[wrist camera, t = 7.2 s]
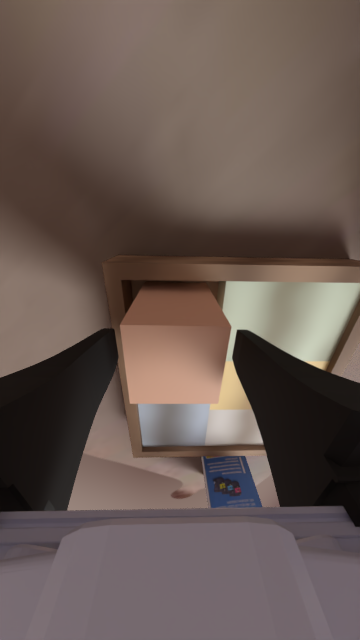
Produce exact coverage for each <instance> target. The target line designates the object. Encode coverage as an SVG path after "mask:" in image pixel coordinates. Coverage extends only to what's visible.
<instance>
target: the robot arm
mask: <svg viewBox="0 0 360 640" xmlns="http://www.w3.org/2000/svg"><path fill="white" fill-rule="evenodd" d="M118 358H119V355H118V349H117V343H116V336H115V330H114V329H107V328H104V329H101V330H99V331H98V332H96V333H94V334H92V335H91V336H89V337H87V338H86V339H84V340H82V341H80V342H79V343H77V344H75V345H73V346H72V347H70V348H68V349H66V350H64V351H62V352H60V353H59V354H57V355H55V356H53V357H51V358H49V359H46V360H44V361H42V362H40V363H37V364H35V365H33V366H30V367H28V368H25V369H23V370H20V371H17V372H15V373H12V374H9V375H7V376H4V377H1V378H0V640H360V383H357V382H354V381H351V380H349V379H346V378H343V377H340V376H338V375H335V374H332V373H330V372H327V371H325V370H322V369H320V368H318V367H315V366H313V365H311V364H309V363H307V362H304V361H302V360H300V359H298V358H296V357H294V356H292V355H290V354H289V353H287V352H285V351H283V350H281V349H280V348H278V347H276V346H274V345H273V344H271V343H269V342H268V341H266V340H265V339H263V338H261V337H260V336H258V335H256V334H255V333H253V332H251V331H249V330H237V332H236V338H235V343H234V349H233V354H232V360H233V363H234V367H235V370H236V373H237V376H238V378H239V380H240V383H241V385H242V387H243V389H244V392H245V394H246V396H247V398H248V401H249V403H250V405H251V408H252V410H253V413H254V415H255V419H256V422H257V425H258V428H259V431H260V434H261V437H262V441H263V444H264V447H265V451H266V454H267V458H268V462H269V465H270V469H271V472H272V476H273V480H274V484H275V488H276V492H277V496H278V500H279V504H280V507H251V508H195V509H194V508H192V509H138V510H135V509H134V510H80V511H79V510H76V511H67V508H68V504H69V500H70V497H71V493H72V489H73V485H74V482H75V478H76V474H77V471H78V468H79V464H80V461H81V457H82V454H83V451H84V448H85V444H86V441H87V438H88V435H89V432H90V429H91V426H92V423H93V420H94V417H95V414H96V412H97V410H98V407H99V405H100V403H101V400H102V398H103V396H104V394H105V392H106V390H107V387H108V385H109V383H110V381H111V379H112V376H113V374H114V372H115V369H116V365H117V362H118Z"/></svg>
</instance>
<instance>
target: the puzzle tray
mask: <svg viewBox="0 0 360 640" xmlns="http://www.w3.org/2000/svg"><path fill="white" fill-rule="evenodd" d="M102 269H103V275H104V281H105V287H106V293H107V299H108V306H109V312H110V318H111V324H112V329H114V330H115V336H116V343H117V349H118V355H119V358H118V367H119V373H120V379H121V385H122V391H123V397H124V404H125V410H126V416H127V422H128V428H129V434H130V440H131V446H132V453H133V458H138V457H203V456H267V454H266V451H265V447H264V444H263V441H262V437H261V434H260V431H259V428H258V425H257V422H256V419H255V415H254V413H253V410H252V408H251V405H250V403H249V401H248V398H247V396H246V394H245V392H244V389H243V387H242V385H241V383H240V380H239V378H238V376H237V373H236V370H235V367H234V363H233V360H232V354H233V349H234V343H235V338H236V332H237V330H249V331H251V332H253V333H255V334H256V335H258V336H260V337H261V338H263V339H265V340H266V341H268V342H269V343H271V344H273V345H274V346H276V347H278V348H280V349H281V350H283V351H285V352H287V353H289V354H290V355H292V356H294V357H296V358H298V359H300V360H302V361H304V362H307V363H309V364H311V365H313V366H315V367H318V368H320V369H322V370H325V371H327V372H330V373H332V374H335V375H338V376H340V377H341V376H342V374H343V372H344V370H345V369H346V367H347V365H348V363H349V361H350V359H351V357H352V355H353V354H354V352H355V350H356V348H357V346H358V344H359V342H360V261H358V260H352V259H313V258H254V257H196V256H138V255H117V256H115V257H113V258H111V259H108V260H106V261H104V262H102ZM145 282H184V283H206V284H207V285H208V287H209V289H210V291H211V292H212V294H213V296H214V297H215V299H216V301H217V303H218V304H219V306H220V308H221V309H222V311H223V313H224V314H225V316H226V318H227V320H228V321H229V323H230V325H231V326H232V328H231V333H230V339H229V345H228V350H227V356H226V362H225V368H224V373H223V379H222V385H221V390H220V396H219V402H218V404H130V400H129V393H128V385H127V377H126V369H125V362H124V354H123V346H122V338H121V330H120V324H121V322H122V320H123V319H124V317H125V315H126V313H127V312H128V310H129V308H130V307H131V305H132V303H133V301H134V300H135V298H136V296H137V295H138V293H139V291H140V289H141V288H142V286H143V284H144V283H145Z"/></svg>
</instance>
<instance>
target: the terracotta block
mask: <svg viewBox="0 0 360 640" xmlns="http://www.w3.org/2000/svg"><path fill="white" fill-rule="evenodd" d="M231 328H232V326H231V325H230V323H229V321H228V320H227V318H226V316H225V314H224V313H223V311H222V309H221V308H220V306H219V304H218V303H217V301H216V299H215V297H214V296H213V294H212V292H211V291H210V289H209V287H208V285H207V284H206V283H184V282H145V283H144V284H143V286H142V288H141V289H140V291H139V293H138V295H137V296H136V298H135V300H134V301H133V303H132V305H131V307H130V308H129V310H128V312H127V313H126V315H125V317H124V319H123V320H122V322H121V324H120V330H121V338H122V346H123V354H124V362H125V369H126V377H127V385H128V393H129V400H130V404H218V402H219V396H220V390H221V385H222V379H223V373H224V368H225V362H226V356H227V350H228V345H229V339H230V333H231Z"/></svg>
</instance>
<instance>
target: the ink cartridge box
mask: <svg viewBox="0 0 360 640" xmlns="http://www.w3.org/2000/svg"><path fill="white" fill-rule="evenodd" d="M201 458H202V465H203V474H204V481H205V488H206V495H207V502H208V508H251V507H262V505H261V501H260V498H259V495H258V493H257V490H256V487H255V484H254V481H253V478H252V475H251V472H250V469H249V466H248V463H247V460H246V458H245V456H203V457H201Z"/></svg>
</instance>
